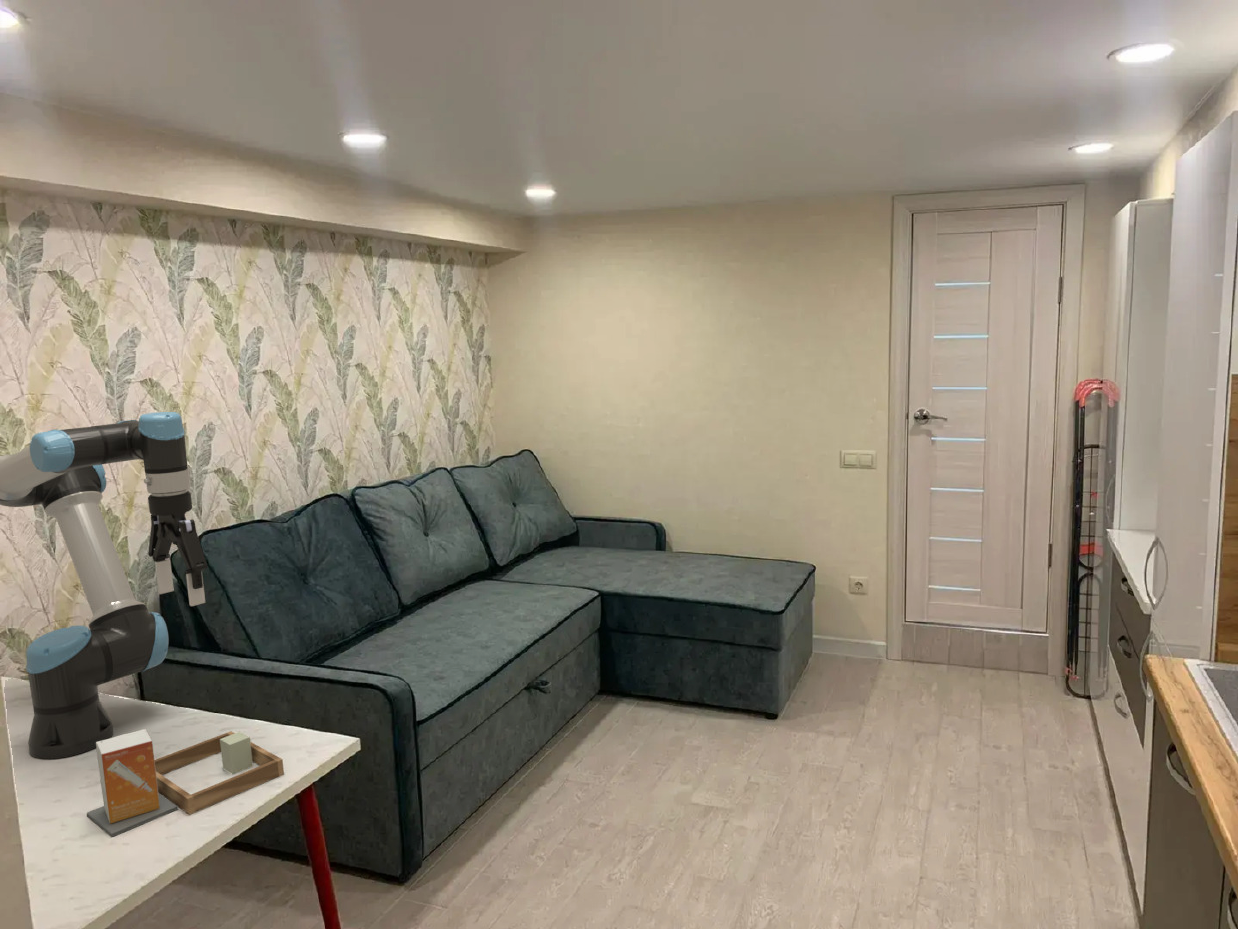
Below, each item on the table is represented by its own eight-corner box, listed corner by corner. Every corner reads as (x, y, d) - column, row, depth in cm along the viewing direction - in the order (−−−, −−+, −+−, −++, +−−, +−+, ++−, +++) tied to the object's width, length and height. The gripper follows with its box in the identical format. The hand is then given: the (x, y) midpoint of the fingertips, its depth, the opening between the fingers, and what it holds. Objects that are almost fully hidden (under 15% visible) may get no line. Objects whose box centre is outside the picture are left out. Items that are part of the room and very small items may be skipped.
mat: (87, 816, 163) (86, 812, 163) (151, 790, 171) (150, 787, 171) (112, 837, 156) (111, 834, 156) (177, 809, 164) (177, 806, 164)
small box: (109, 825, 159) (100, 754, 157) (104, 810, 164) (94, 741, 162) (161, 809, 163) (152, 740, 161) (154, 795, 168) (145, 727, 166)
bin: (141, 780, 175) (139, 765, 175) (232, 745, 189) (231, 731, 188) (189, 814, 162) (187, 798, 162) (283, 774, 176) (282, 759, 175)
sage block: (222, 768, 179) (219, 739, 178) (242, 760, 182) (239, 731, 181) (233, 774, 177) (229, 745, 176) (252, 766, 179) (249, 737, 179)
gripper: (122, 489, 184) (135, 592, 188) (178, 502, 168) (191, 614, 172) (160, 483, 190) (172, 583, 193) (218, 495, 174) (230, 604, 177)
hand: (181, 598), depth 182 cm, fingers open, 13 cm apart
